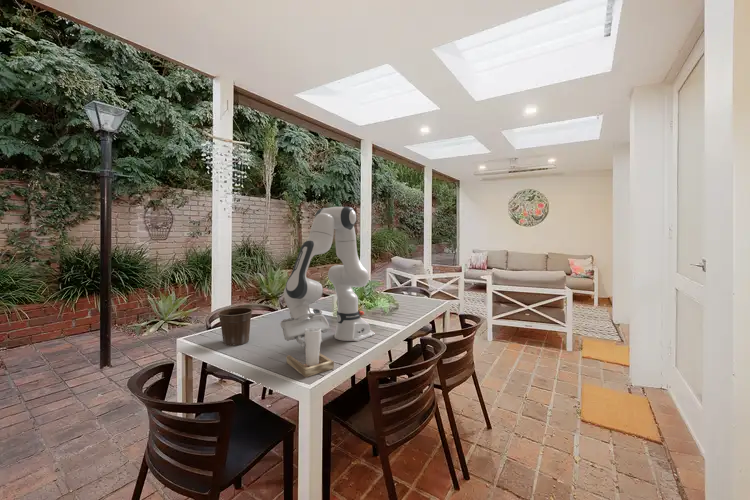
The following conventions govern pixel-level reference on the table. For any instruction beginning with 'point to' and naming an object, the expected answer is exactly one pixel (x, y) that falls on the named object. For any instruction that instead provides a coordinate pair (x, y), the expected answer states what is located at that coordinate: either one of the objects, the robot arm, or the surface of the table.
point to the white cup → (312, 345)
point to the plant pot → (235, 325)
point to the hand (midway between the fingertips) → (312, 344)
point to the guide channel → (311, 370)
